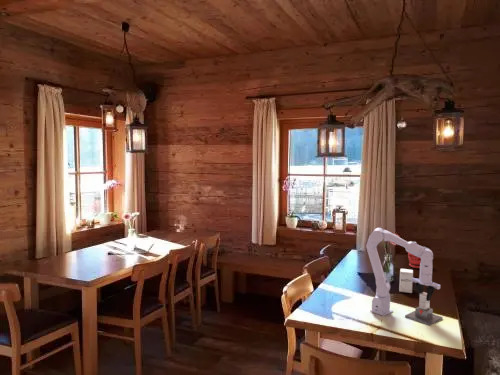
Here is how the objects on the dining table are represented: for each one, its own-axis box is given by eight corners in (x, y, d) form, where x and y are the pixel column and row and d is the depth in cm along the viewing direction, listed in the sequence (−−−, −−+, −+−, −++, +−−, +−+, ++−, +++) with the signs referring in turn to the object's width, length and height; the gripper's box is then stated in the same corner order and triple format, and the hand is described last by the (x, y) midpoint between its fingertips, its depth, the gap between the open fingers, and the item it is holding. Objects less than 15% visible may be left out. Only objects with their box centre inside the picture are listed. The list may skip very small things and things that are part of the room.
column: (425, 312, 207) (426, 295, 206) (418, 310, 210) (419, 293, 209) (429, 310, 209) (430, 293, 209) (422, 308, 212) (423, 291, 211)
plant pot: (429, 267, 303) (430, 251, 302) (421, 270, 294) (421, 253, 293) (413, 263, 313) (413, 247, 312) (404, 266, 304) (404, 250, 303)
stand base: (429, 325, 201) (430, 315, 200) (405, 317, 211) (405, 307, 210) (442, 318, 209) (443, 309, 209) (418, 311, 219) (418, 301, 219)
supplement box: (399, 291, 249) (399, 271, 248) (399, 288, 256) (400, 268, 255) (412, 293, 246) (413, 272, 245) (412, 289, 253) (413, 269, 252)
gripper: (408, 271, 211) (407, 296, 212) (436, 278, 200) (434, 305, 201) (415, 268, 215) (414, 293, 217) (443, 275, 204) (441, 302, 205)
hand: (424, 299), depth 209 cm, fingers closed on column, 4 cm apart
